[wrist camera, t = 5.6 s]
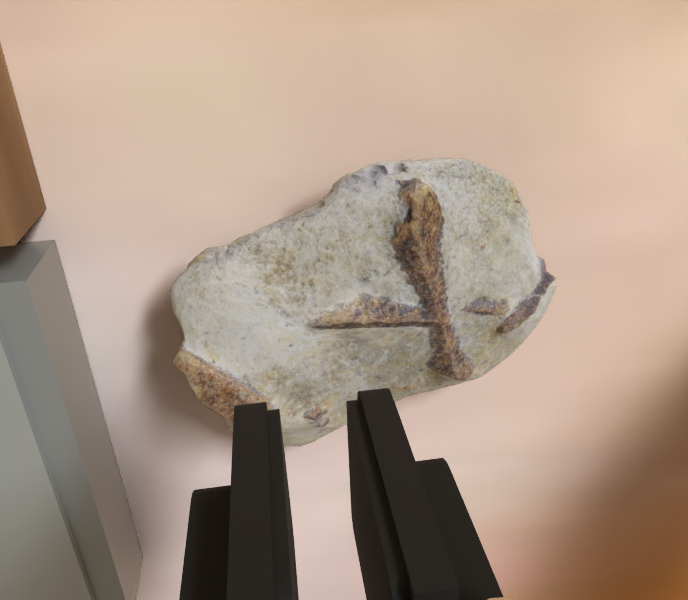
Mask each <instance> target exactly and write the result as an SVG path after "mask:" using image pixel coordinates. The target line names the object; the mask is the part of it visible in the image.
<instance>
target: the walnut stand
mask: <svg viewBox="0 0 688 600" xmlns="http://www.w3.org/2000/svg"><path fill="white" fill-rule="evenodd" d="M45 210H46V206H45V202H44V199H43V195H42V192H41V188H40V184H39V181H38V177H37V174H36V170H35V166H34V163H33V159H32V156H31V152H30V148H29V145H28V141H27V138H26V134H25V130H24V127H23V123H22V120H21V116H20V112H19V109H18V105H17V102H16V98H15V94H14V91H13V87H12V84H11V80H10V76H9V73H8V69H7V66H6V62H5V58H4V55H3V51H2V48H1V44H0V247H3V246H14V245H16V244H17V243H18V241H19V240H20V239H21V238H22V237H23V236H24V234H25V233H26V232H27V231H28V230H29V229H30V227H31V226H32V225H33V224H34V223H35V222H36V220H37V219H38V218H39V217H40V216H41V215H42V213H43V212H44V211H45Z"/></svg>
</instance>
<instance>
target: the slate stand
mask: <svg viewBox="0 0 688 600" xmlns="http://www.w3.org/2000/svg"><path fill="white" fill-rule="evenodd" d="M142 558H143V555H142V552H141V548H140V544H139V541H138V537H137V534H136V530H135V526H134V523H133V519H132V516H131V512H130V508H129V505H128V501H127V498H126V494H125V490H124V487H123V483H122V480H121V476H120V472H119V469H118V465H117V462H116V458H115V454H114V451H113V447H112V444H111V440H110V436H109V433H108V429H107V426H106V422H105V418H104V415H103V411H102V408H101V404H100V400H99V397H98V393H97V390H96V386H95V382H94V379H93V375H92V372H91V368H90V364H89V361H88V357H87V354H86V350H85V346H84V343H83V339H82V336H81V332H80V328H79V325H78V321H77V318H76V314H75V310H74V307H73V303H72V300H71V296H70V292H69V289H68V285H67V282H66V278H65V274H64V271H63V267H62V264H61V260H60V256H59V253H58V249H57V246H56V242H55V240H51V241H40V242H30V243H19V244H16V245H14V246H3V247H0V600H136V597H137V591H138V584H139V578H140V571H141V565H142Z"/></svg>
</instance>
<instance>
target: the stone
mask: <svg viewBox="0 0 688 600" xmlns="http://www.w3.org/2000/svg"><path fill="white" fill-rule="evenodd" d="M555 279H556V278H555V277H554V276H552V275H551V274H549V273H548V272H547V270H546V265H545V261H544V259H542V258H540V257H538V256H537V254H536V253H535V251H534V248H533V244H532V240H531V235H530V224H529V217H528V211H527V209H526V207H525V205H524V204H523V202H522V200H521V198H520V196H519V193H518V190H517V188H516V186H515V185H514V183H513V182H512V181H510V180H509V179H508V178H507V177H505V176H503V175H502V174H500V173H498V172H496V171H494V170H493V169H491V168H489V167H487V166H484V165H481V164H478V163H475V162H472V161H468V160H465V159H456V158H437V159H422V160H418V161H411V160H404V161H383V162H378V163H374V164H371V165H368V166H366V167H364V168H362V169H360V170H358V171H356V172H354V173H352V174H346V175H345V176H344V177H341V178H340V179H339V180H338V181H337V182H335V183H334V184H333V186H332V189H331V190H330V192H329V193H328V194H327V196H326V197H325V198H324V199H323V200H322V201H320V202H319V203H318V204H316V205H314V206H311V207H309V208H307V209H305V210H303V211H301V212H299V213H298V214H296V215H293V216H290V217H287V218H284V219H281V220H278V221H276V222H274V223H272V224H270V225H268V226H265V227H263V228H261V229H259V230H258V231H256V232H255V233H253V234H248V235H245V236H243V237H240V238H238V239H237V240H235V241H234V242H232V243H231V244H229V245H225V246H219V247H211V248H208V249H205V250H204V251H203V252H201V253H200V254H199V255H198V256H196V257H195V258H194V259H193V260H192V261H191V262H190V263H189V265H188V267H187V269H186V270H185V271H184V272H183V273H182V274H181V275H180V276H179V277H178V278H177V279H176V280H175V282H174V284H173V286H172V288H171V290H170V299H171V304H172V309H173V312H174V314H175V316H176V318H177V320H178V322H179V324H180V326H181V328H182V343H181V345H180V347H179V349H178V351H177V353H176V355H175V357H174V361H173V365H174V366H175V367H176V368H177V369H178V370H179V371H180V372H182V373H183V374H184V375H185V377H186V379H187V381H188V383H189V384H190V386H191V388H192V390H193V392H194V395H195V397H196V400H197V401H199V402H200V403H201V404H203V405H204V406H206V407H207V408H209V409H211V410H212V411H214V412H216V413H217V414H219V415H220V416H222V417H223V418H225V423H226V425H227V426H228V428H229V429H230V430H231V432H232V433H233V421H234V406H235V405H243V404H252V403H260V402H266V403H267V409H268V410H274V409H280V418H281V426H282V435H283V444H284V446H302V445H305V444H308V443H311V442H314V441H315V440H317V439H319V438H320V437H322V436H324V435H326V434H328V433H330V432H332V431H334V430H336V429H338V428H340V427H342V426H344V425H345V424H347V406H346V404H347V401H351V400H357V392H358V391H364V390H373V389H382V388H389V389H390V391H391V394H392V396H393V399H394V401H397V400H399V399H402V398H404V397H406V396H411V395H415V394H418V393H421V392H426V391H431V390H435V389H439V388H442V387H447V386H452V385H456V384H460V383H462V382H465V381H469V380H474V379H476V378H479V377H481V376H482V375H484V374H486V373H487V372H488V371H490V370H491V369H493V368H494V367H495V366H497V365H498V364H499V363H501V362H502V361H503V360H505V359H506V358H507V357H508V356H510V355H511V354H512V353H513V352H514V351H515V350H516V349H517V348H518V347H519V346H520V345H521V344H522V343H523V342H524V341H525V339H526V338H527V337H528V336H529V334H530V333H531V332H532V331H533V329H534V328H535V327H536V326H537V324H538V323H539V321H540V320H541V318H542V317H543V315H544V313H545V311H546V309H547V307H548V306H549V304H550V301H551V299H552V296H553V294H554V292H555V289H556V284H555V281H554V280H555Z"/></svg>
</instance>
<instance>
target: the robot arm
mask: <svg viewBox="0 0 688 600" xmlns="http://www.w3.org/2000/svg"><path fill="white" fill-rule="evenodd" d="M346 406H347V428H348V449H349V470H350V491H351V512H352V522H353V530H354V535H355V541H356V546H357V551H358V556H359V562H360V567H361V572H362V577H363V582H364V588H365V593H366V598H367V600H519V599H514V598H510V597H503V595H502V592H501V590H500V588H499V585H498V583H497V580H496V578H495V576H494V573H493V571H492V568H491V566H490V564H489V561H488V559H487V556H486V554H485V552H484V549H483V547H482V544H481V542H480V540H479V537H478V535H477V532H476V530H475V528H474V525H473V523H472V521H471V518H470V516H469V513H468V511H467V509H466V506H465V504H464V501H463V499H462V497H461V494H460V492H459V489H458V487H457V485H456V482H455V480H454V477H453V475H452V473H451V470H450V468H449V466H448V464H447V462H446V461H445V460H444V459H443V458H439V459H431V460H423V461H416V462H415V459H414V456H413V453H412V451H411V448H410V445H409V442H408V439H407V436H406V433H405V431H404V428H403V425H402V422H401V419H400V416H399V414H398V411H397V408H396V405H395V402H394V399H393V396H392V394H391V391H390V389H389V388H382V389H373V390H364V391H358V392H357V400H351V401H347V404H346ZM179 600H299V599H298V587H297V574H296V561H295V549H294V536H293V526H292V516H291V507H290V498H289V489H288V480H287V471H286V462H285V453H284V444H283V435H282V426H281V418H280V409H274V410H268V409H267V403H266V402H260V403H252V404H243V405H235V406H234V421H233V446H232V471H231V485H230V486H222V487H214V488H206V489H198V490H194V491H193V493H192V498H191V505H190V513H189V522H188V531H187V539H186V548H185V556H184V565H183V573H182V582H181V590H180V599H179Z"/></svg>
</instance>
